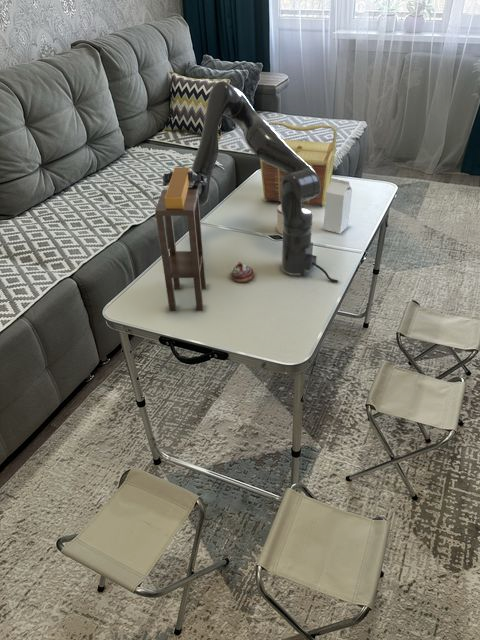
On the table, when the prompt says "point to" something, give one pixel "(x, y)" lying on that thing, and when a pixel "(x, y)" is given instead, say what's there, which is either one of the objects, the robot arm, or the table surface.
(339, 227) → the milk carton
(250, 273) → the pastry
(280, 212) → the teacup with lid
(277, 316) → the table surface
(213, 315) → the table surface
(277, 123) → the picnic basket
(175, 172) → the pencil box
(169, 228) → the stand
